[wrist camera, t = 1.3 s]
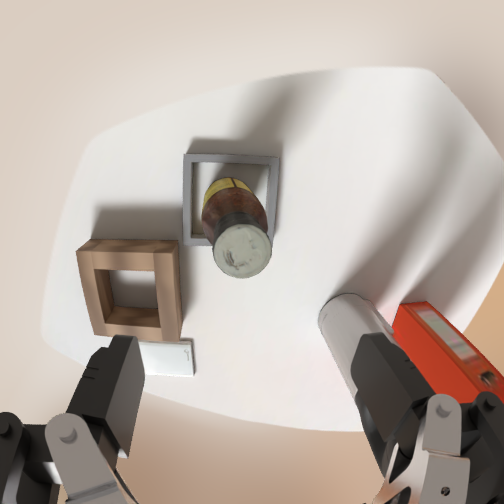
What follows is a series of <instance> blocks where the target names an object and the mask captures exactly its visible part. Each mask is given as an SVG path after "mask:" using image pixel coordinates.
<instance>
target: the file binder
mask: <svg viewBox="0 0 504 504" xmlns="http://www.w3.org/2000/svg"><path fill="white" fill-rule="evenodd" d="M392 329H393V330H394V335H393V337H394V339H395V340H396V341H397V342H398V344H399V345H400V346H401V348H402V349H403V350H404V351H405V353H406V354H407V355H408V357H409V358H410V359H411V361H412V362H413V363H414V364H415V366H416V367H417V368H418V370H419V371H420V373H421V374H422V375H423V377H424V378H425V379H426V381H427V382H428V383H429V385H430V386H431V387H432V389H433V390H434V391H435V393H436V394H446V395H449V396H451V397H453V398H454V399H455V400H456V401H457V402H458V403H470V402H473V401H474V400H475V398H476V397H477V395H478V394H479V393H481V392H483V391H489V392H492V393H494V394H495V395H497V396H498V397H499V398H500V400H501V401H502V402H503V404H504V377H503V376H502V375H501V373H500V372H499V371H498V370H497V369H496V368H495V367H494V366H493V365H492V364H491V363H490V362H489V361H488V360H487V359H486V358H485V356H484V355H483V354H482V353H480V351H479V350H478V349H477V348H476V347H475V346H474V345H473V344H472V343H471V342H470V341H469V340H468V339H467V338H466V337H465V336H464V335H463V334H462V333H461V332H460V331H458V330H457V329H456V328H455V327H454V326H453V325H452V324H451V323H450V322H449V321H448V320H447V319H446V318H445V317H444V316H443V315H442V314H440V313H439V312H438V311H437V310H436V309H435V308H434V307H433V306H432V305H431V304H429V303H428V302H427V301H426V302H416V303H406V304H401V305H399V308H398V311H397V314H396V317H395V320H394V323H393V326H392Z"/></svg>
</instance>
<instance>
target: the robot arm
mask: <svg viewBox="0 0 504 504" xmlns="http://www.w3.org/2000/svg"><path fill="white" fill-rule="evenodd" d="M318 326H319V329H320V331H321V333H322V335H323V337H324V339H325V341H326V343H327V345H328V347H329V349H330V351H331V353H332V355H333V357H334V360H335V362H336V364H337V366H338V368H339V370H340V372H341V374H342V376H343V378H344V380H345V382H346V384H347V386H348V388H349V391H350V393H351V395H352V397H353V399H354V401H355V403H356V405H357V407H358V410H359V413H360V417H361V421H362V425H363V429H364V432H365V434H366V436H367V439H368V441H369V444H370V446H371V449H372V451H373V454H374V456H375V459H376V461H377V463H378V466H379V468H380V471H381V473H382V474H383V476H384V478H385V480H384V483H383V486H382V488H381V490H380V491H379V493H378V494H377V495H376V497H375V498H374V500H373V502H372V503H371V504H504V404H503V402H502V401H501V400H500V398H499V397H498V396H497V395H495V394H494V393H492V392H489V391H483V392H481V393H479V394H478V395H477V397H476V398H475V400H474V401H473V402H470V403H458V402H457V401H456V400H455V399H454V398H453V397H451V396H449V395H446V394H436V393H435V391H434V390H433V389H432V387H431V386H430V385H429V383H428V382H427V381H426V379H425V378H424V377H423V375H422V374H421V373H420V371H419V370H418V368H417V367H416V366H415V364H414V363H413V362H412V361H411V359H410V358H409V357H408V355H407V354H406V353H405V351H404V350H403V349H402V348H401V346H400V345H399V344H398V342H397V341H396V340H395V339H394V337H393V335H394V330H393V329H392V327H391V326H390V325H389V324H388V323H387V321H386V320H385V319H384V318H383V317H382V315H381V314H380V313H379V312H378V311H377V309H376V308H375V307H374V306H373V305H372V303H371V302H370V301H369V300H363V299H362V298H361V297H360V296H358V295H356V294H342V295H339V296H337V297H335V298H333V299H332V300H330V301H329V302H328V303H327V304H326V305H325V306H324V307H323V309H322V310H321V312H320V314H319V317H318ZM144 381H145V370H144V365H143V361H142V356H141V352H140V347H139V342H138V339H137V337H136V336H130V335H119V334H115V335H114V337H113V339H112V341H111V343H110V345H109V347H108V348H106V347H101V348H100V349H99V350H97V351H96V352H95V353H94V354H93V355H92V356H91V358H90V360H89V362H88V364H87V366H86V369H85V371H84V373H83V375H82V378H81V379H80V381H79V384H78V386H77V388H76V390H75V392H74V395H73V397H72V399H71V402H70V404H69V406H68V409H67V411H66V413H63V414H59V415H56V416H55V417H53V418H52V419H51V420H50V421H49V422H48V424H46V425H32V424H31V425H30V424H23V423H22V422H21V421H20V419H19V418H18V417H17V416H16V415H14V414H13V413H10V412H2V413H0V504H57V500H58V495H59V488H60V484H63V486H64V488H65V490H66V493H67V495H68V499H67V500H66V501H65V503H66V504H140V503H139V502H138V500H137V499H136V497H135V496H134V494H133V493H132V492H131V490H130V489H129V487H128V486H127V484H126V482H125V481H124V479H123V478H122V476H121V475H120V473H119V471H118V470H117V468H116V463H117V457H122V458H128V457H129V452H130V446H131V441H132V436H133V431H134V426H135V422H136V417H137V412H138V408H139V403H140V399H141V395H142V391H143V387H144ZM364 504H366V503H364Z"/></svg>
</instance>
